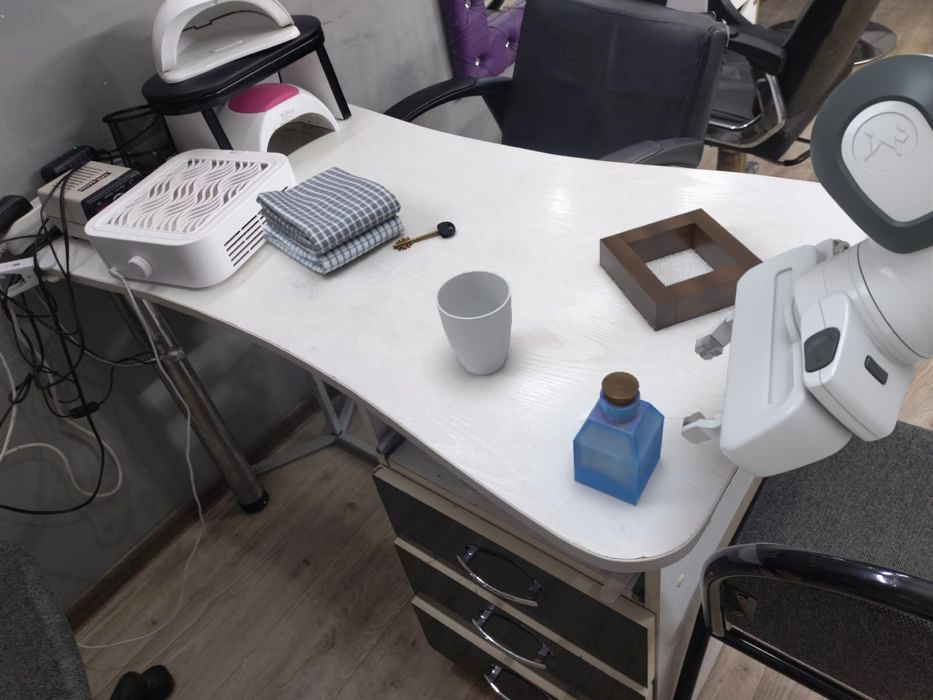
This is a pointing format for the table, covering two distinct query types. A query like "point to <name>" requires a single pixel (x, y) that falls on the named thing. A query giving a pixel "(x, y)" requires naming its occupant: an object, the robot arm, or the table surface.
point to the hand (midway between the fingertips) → (693, 388)
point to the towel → (330, 219)
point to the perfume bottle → (619, 440)
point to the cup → (477, 318)
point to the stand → (667, 237)
